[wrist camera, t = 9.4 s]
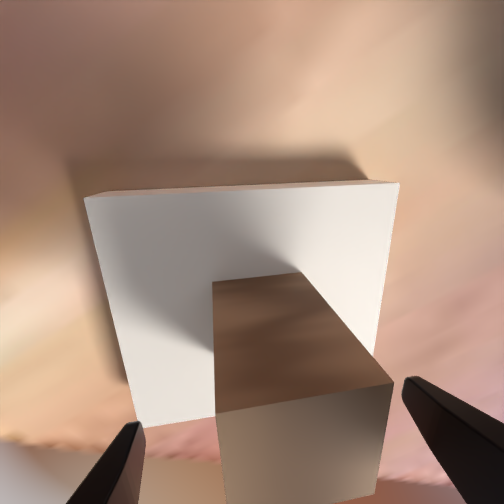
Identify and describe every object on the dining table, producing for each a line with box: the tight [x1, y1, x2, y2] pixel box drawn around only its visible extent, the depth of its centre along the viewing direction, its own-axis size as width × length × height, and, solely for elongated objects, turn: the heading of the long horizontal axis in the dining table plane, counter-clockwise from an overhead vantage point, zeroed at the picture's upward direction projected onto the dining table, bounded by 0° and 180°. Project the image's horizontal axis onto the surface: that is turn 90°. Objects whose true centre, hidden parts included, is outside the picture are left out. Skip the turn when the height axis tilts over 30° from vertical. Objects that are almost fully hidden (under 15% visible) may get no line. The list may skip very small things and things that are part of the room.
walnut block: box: [212, 272, 394, 504], centre depth 10 cm, size 4×4×7 cm
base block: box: [83, 180, 400, 428], centre depth 15 cm, size 14×13×2 cm
